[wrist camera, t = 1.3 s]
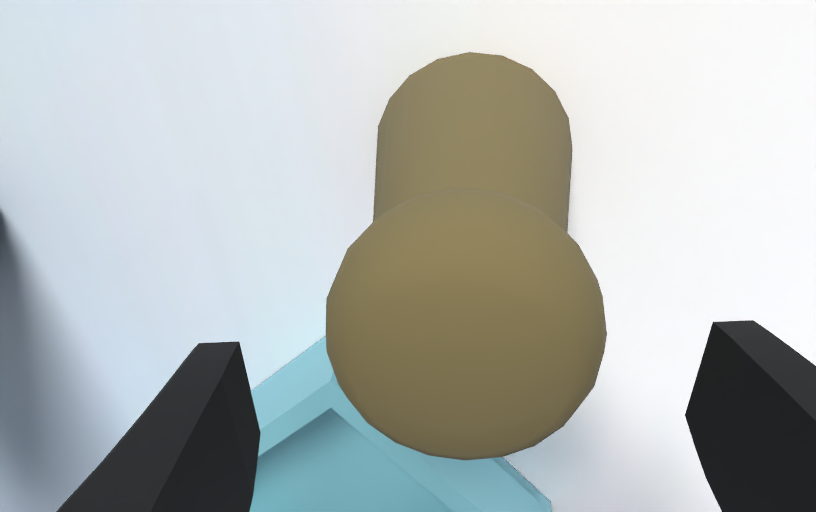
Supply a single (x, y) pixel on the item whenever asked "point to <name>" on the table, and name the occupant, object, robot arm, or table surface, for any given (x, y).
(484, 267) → the cork
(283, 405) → the teal bin
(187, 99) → the table surface
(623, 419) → the table surface
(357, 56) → the table surface
